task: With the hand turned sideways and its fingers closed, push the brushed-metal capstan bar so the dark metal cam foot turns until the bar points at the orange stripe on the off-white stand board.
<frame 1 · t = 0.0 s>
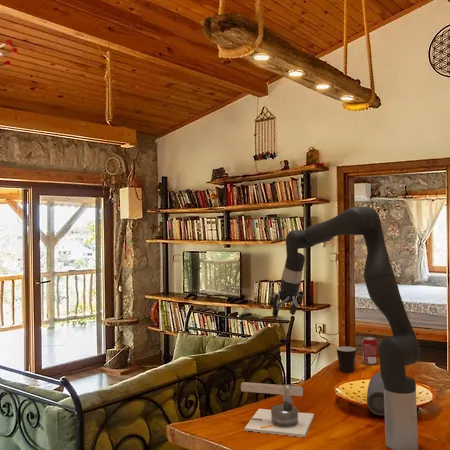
hand: (283, 315, 202), 31 cm above the table, tool tilted 20°, fingers open, 8 cm apart
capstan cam: (271, 401, 172), point 8 cm above the table, hinge at 0.0°
soda can: (370, 363, 241), on the table
coffee mug: (345, 372, 229), on the table
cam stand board: (280, 423, 172), on the table
bluetooth speaker: (381, 408, 185), on the table
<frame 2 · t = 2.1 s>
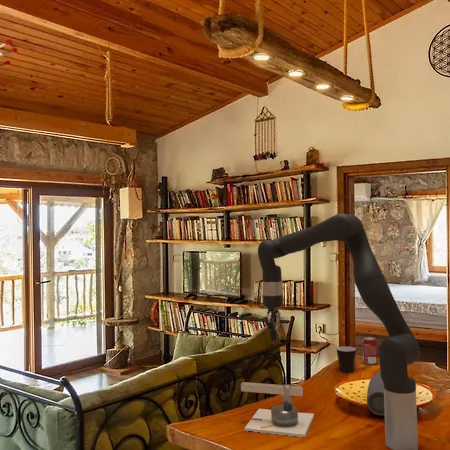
hand: (274, 340, 188), 25 cm above the table, tool pointing down, fingers closed
nothing on the table moved.
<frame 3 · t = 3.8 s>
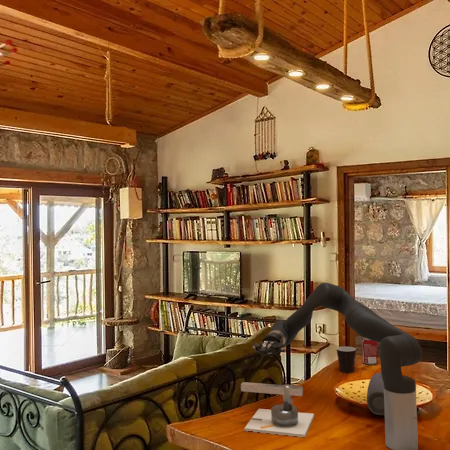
hand: (262, 353, 180), 22 cm above the table, tool horizontal, fingers closed
nothing on the table moved.
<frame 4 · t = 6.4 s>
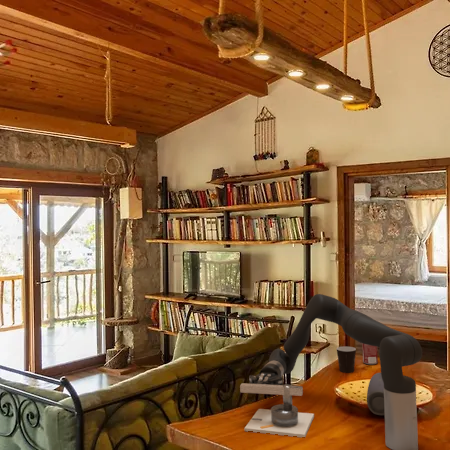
hand: (259, 387, 174), 12 cm above the table, tool horizontal, fingers closed
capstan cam: (271, 402, 172), point 8 cm above the table, hinge at 4.8°, touching gripper
everything else where it was.
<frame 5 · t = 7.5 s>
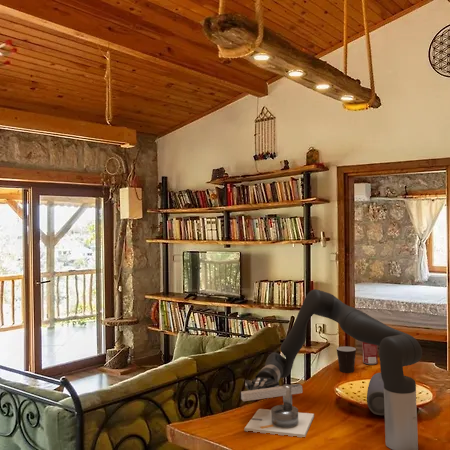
hand: (255, 393, 169), 12 cm above the table, tool horizontal, fingers closed
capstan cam: (272, 405, 169), point 8 cm above the table, hinge at 36.1°, touching gripper
everything else where it was.
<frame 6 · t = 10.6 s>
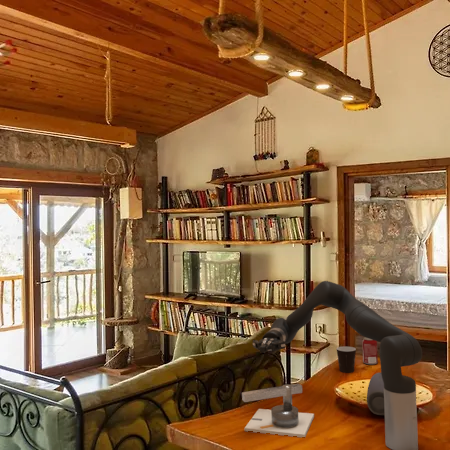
hand: (262, 349, 180), 23 cm above the table, tool horizontal, fingers closed
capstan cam: (272, 405, 169), point 8 cm above the table, hinge at 39.5°
everything else where it was.
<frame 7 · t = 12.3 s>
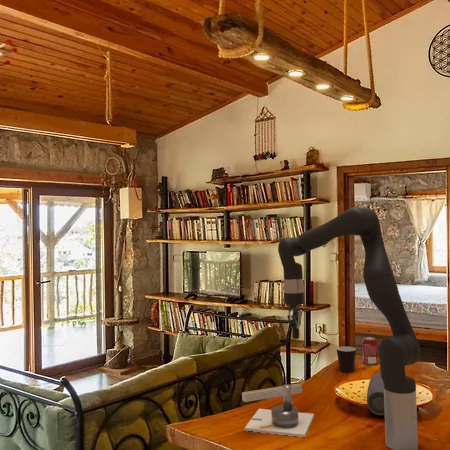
hand: (296, 338, 187), 26 cm above the table, tool pointing down, fingers closed
nothing on the table moved.
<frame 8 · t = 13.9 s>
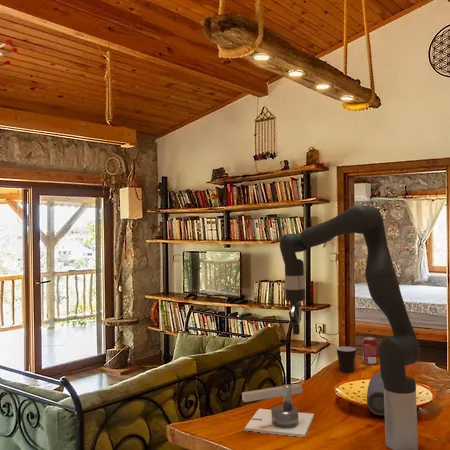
hand: (296, 334, 187), 27 cm above the table, tool pointing down, fingers closed
nothing on the table moved.
at the end: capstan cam at +40° (first picture: +0°); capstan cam touching nothing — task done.
